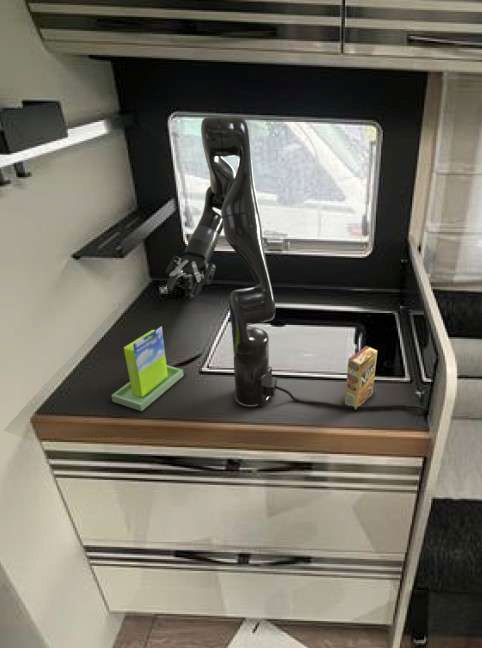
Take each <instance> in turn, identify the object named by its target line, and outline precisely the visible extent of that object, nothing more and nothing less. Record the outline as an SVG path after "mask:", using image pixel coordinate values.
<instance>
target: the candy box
mask: <svg viewBox="0 0 482 648" xmlns="http://www.w3.org/2000/svg"><path fill="white" fill-rule="evenodd" d="M377 358H378V350H377V349H375V348H372V347H370V346H368V345H365V346H364V347H363V348H361V349H360V350H358V351H357V352H356V353H355V354H353V355H352V356H351V357H349V358H348V360H347V361H348V362H347V372H346V373H347V374H346V384H345V385H346V387H345V397H344V405H347V406H353V407H354V408H355V409H354V410H358V409H357V407H358V406H363V404H364V403H365V402H366V401H367V400H368V399H369V398H370V397H372V395H373V392H374V385H375V384H374V383H375V376H376V375H375V374H376V366H377Z"/></svg>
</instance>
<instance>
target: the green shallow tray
mask: <svg viewBox="0 0 482 648" xmlns="http://www.w3.org/2000/svg"><path fill="white" fill-rule="evenodd" d="M166 365H167V372H168V378H166V379H165V380H164V381H163V382H161V383H160V384H159V385H158V386H156V387H155V388H154V389H153V390H151V391H150V392H149V393H148V394H146V395H145V396H144V397H143V398H141V397H139V396H136V395H133V394H132V389H131V383H130V381H129V382H127V383H125V384H124V385H123V386H122V387H121V388H119V389H117V391H115V392H113V393H112V394H111V401H112V402H113V403H116V404H119V405H121V406H125V407H128V408H131V409H133V410H135V411H136V410H137V411H139V412H143V411H144V410H145V409H146V408H148V407H149V406H150V405H151V404H152V403H153V402H155V401H156V400H157V399H158V398H159V397H160V396H161V395H163V394H164V393H165V392H166V391H167V390H169V388H171V387H172V386H173V385H174V384H176V383H177V382H178V381H179V380H180V379H182V378H183V377H184V373H185V372H184V369H181V368H179V367H175V366H171V365H168V364H166Z"/></svg>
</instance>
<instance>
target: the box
mask: <svg viewBox="0 0 482 648" xmlns="http://www.w3.org/2000/svg"><path fill="white" fill-rule="evenodd" d="M123 352H124V357H125V362H126V367H127V371H128V378H129V382H130V383H131V389H132V394H133V395H136V396H139V397H141V398H143V397H144V396H145V395H146V394H148V393H149V392H150V391H151V390H153V389H154V388H155V387H156V386H158V385H159V384H160V383H161V382H163V381H164V380H165V379H166V378H168V372H167V365H168V364H167V358H166V350H165V341H164V331H163V326H160V327H158V328H156V329H151V330H150V331H148V332H146V333H145V334H143V335H141V336H139V337H138V338H136V339H135V340H134V341H132V342H130V343H128V344H127V345H125V346H124V347H123Z"/></svg>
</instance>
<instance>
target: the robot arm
mask: <svg viewBox="0 0 482 648" xmlns="http://www.w3.org/2000/svg"><path fill="white" fill-rule="evenodd" d="M200 132H201V133H200V134H201V141H202V147H203V152H204V156H205V160H206V165H207V168H208V172H209V180H210V181H209V183H210V185H209V187H207V189H206V191H205V197H204V206H203V211H202V215H201V217H200V219H199V221H198V223H197V226H196V227H195V229H194V230H193V233H192V234H191V237H190V239H189V241H188V243H187V245H186V247H185V250H184V255H183V257H178V256H177V255H173V256H172V257H171V260H170V261H169V264H168V266H167V267H166V270H165V274H166V275H168V276H169V277H168V280H167V281H166V284H165V288H166V290H168V291H170V292H172V291H173V290H174V287H175V286H176V283H177V281H178V279H179V278H180V277H183V276H185V275H191V276H194V277H195V280H196V281H195V282H194V284H193V286H192V290H191V291H190V295H191V296H193V297H197V296H198V295H199V294H200V292H201V290H202V288H203V286H204V285H211V284H212V280H213V279H214V275H215V272H216V270H217V266H216V265H215V264H213V262H210V261H211V258H212V256H213V255H214V252H215V249H216V247H217V246H218V245H217V244H218V242H219V238H220V236H221V233H222V230H223V235H224V238H225V240H226V241H227V243H228V244H229V246H230V247H231V249H232V250H233V251H234V252H235V253H236V254H237V255H238V256H239V258H240V259H241V260H242V261H243V262H244V264H245V265H246V267H247V268H248V269H249V271H250V273H251V274H252V278H253V280H254V284H255V286H253V287H246V288H240V289H235V290H232V291H231V292H230V294H229V297H228V308H229V316H230V323H231V324H230V325H231V326H230V327H231V338H232V351H233V353H232V354H233V355H232V356H233V373H234V374H233V375H234V398H235V399H234V400H235V402H236V403H237V404H238V405H239V406H241V407H243V408H250V409H251V408H263V406H265V404H266V403H267V402H268V401H269V399H270V398H271V397H274V396H275V394H276V390H278V391H281V392H284V393H286V394H287V395H288V396H289V397H290V398H291V399H292V400H293V401H294V402H298V403H301V404H308V405H320V406H321V405H322V406H328V407H333V408H334V407H335V408H341V409H352V410H353V409H354V410H355V408H354V407H353V406H348V405H346V404H338V403H333V402H332V403H331V402H325V401H315V400H303V399H301V398H300V399H299V398H297V397H295V396H294V395H293V394H292V393H291V391H289V390H288V389H286V388H284V387H281V386H278V377H275V376H273V367H272V366H270V338H269V334H268V333H267V331H266V330H264V329H263V328H259V327H256V326H253V325H257V324H261V323H262V324H263V323H267V322H271V321H272V320H273V319H274V318H275V316H276V301H275V296H274V291H273V287H272V282H271V278H270V274H269V269H268V263H267V259H266V253H265V245H264V237H263V228H262V221H261V215H260V209H259V204H258V198H257V193H256V192H257V191H256V188H255V181H254V171H253V162H252V161H253V160H252V151H251V150H252V149H251V142H250V141H251V140H250V132H249V127H248V123H247V121H246V120H245V118H244V117H242V116H238V115H237V116H236V115H228V116H227V115H225V116H221V115H220V116H219V115H218V116H217V115H216V116H206V117H204V118H203V119H202V121H201V124H200ZM225 157H226V158H228V157H237V161H238V162H237V163H238V164H237V169H236V171H235V170H234V168H233V166H232V165H231V164H230V163H229V162H228V161H226V159H225ZM214 209H216V210H219V211H220V213H218V212H217V211H215V210H214ZM204 271H205V272H204ZM387 408H388V409H389V408H409V409H418V410H421V411H424V412H425V413H427V412H426V410H424V408H425V407H424V406H422V405H414V404H413V405H412V404H401V403H400V404H398V403H397V404H382V405H381V404H379V405H361V406H358V407H357V409H356V410H365V409H387Z"/></svg>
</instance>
